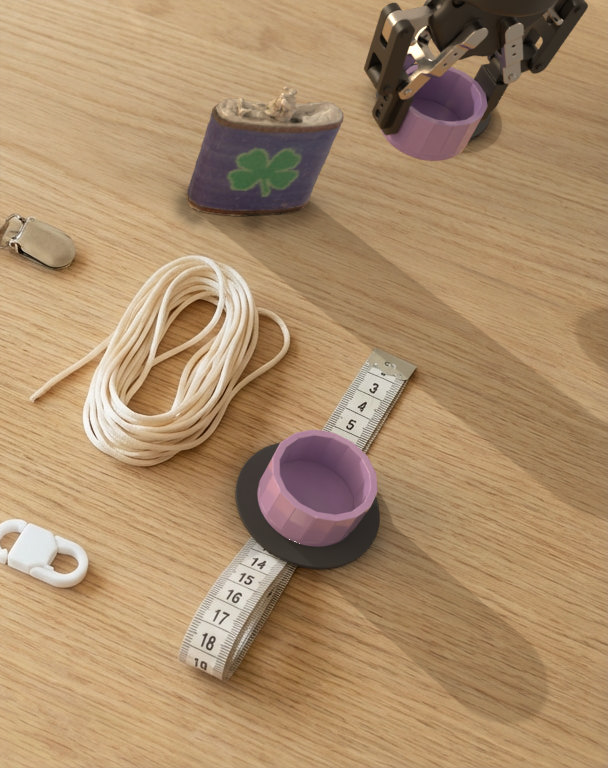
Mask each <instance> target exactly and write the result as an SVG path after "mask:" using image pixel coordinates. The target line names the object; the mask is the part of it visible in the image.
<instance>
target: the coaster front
mask: <svg viewBox="0 0 608 768" xmlns="http://www.w3.org/2000/svg"><path fill="white" fill-rule="evenodd" d="M280 443H281V442H276V443H273V444H269V445H267V446H265V447H263V448H261V449H259V450H258V451H256V452H255V453H254V454H253V455H251V456H250V457H249V458H248V459H247V460H246V461H245V463H244V465H243V466H242V467H241V469H240V471H239V473H238V476H237V479H236V483H235V488H234V489H235V490H234V496H235V505H236V509H237V513H238V516H239V518H240V520H241V522H242V524H243V526H244V528H245V530H247V532H248V534H250V536H251V538H253V540H255V542H256V543H258V545H260V546H261V548H263V549H264V550H265V551H266V552H268V553H269V554H271V555H273V556H274V557H275V558H278V559H279V560H281V561H284V562H286V563H288V564H291V565H293V566H297V567H300V568H304V569H310V570H330V569H331V570H332V569H338V568H340V567H344V566H347V565H349V564H351V563H353V562H355V561H357V560H358V559H360V558H361V557H362V556H364V555H365V553H366V552H368V550H369V548H370V547H371V546H372V545H373V543H374V541H375V539H376V538H377V535H378V531H379V528H380V523H381V522H380V519H381V513H380V506H379V501H378V498H377V495H376V496H375V498H374V501H373V503H372V505H371V507H370V508H369V510H368V511H367V512H366V514H365V515H364V517H363V518H362V519H361V521H360V522H359V523H358V525H357V526H356V528H355V529H354V530H353V531H352V532H351V533H350V534H349V535H348V536H347V537H346V538H345V539H343V540H341V541H340V542H338V543H335V544H332V545H329V546H322V547H313V546H306V545H302V544H299V543H296V542H293V541H291V540H289V539H287V538H286V537H284V536H282V535H281V534H280V533H278V532H277V531H276V530H275V529H274V528H273V527H272V526H271V525H270V524H269V523H268V522H267V520H266V519H265V517H264V515H263V513H262V512H261V509H260V506H259V502H258V495H257V492H258V485H259V482H260V479H261V477H262V475H263V474H264V472H265V470H266V468H267V466H268V464H269V462H270V461H271V459H272V457H273V455H274V453H275V451H276V450H277V448H278V446H279V444H280Z"/></svg>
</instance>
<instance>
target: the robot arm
mask: <svg viewBox="0 0 608 768" xmlns="http://www.w3.org/2000/svg"><path fill="white" fill-rule="evenodd" d="M588 8H589V4H588V3H587V1H586V0H426V1H424V3H423V5H422V6H419V7H413V8H409V9H404V10H403V9H402V8H401V7H400V5H399V4H398V2H390V3H387V5H385V6H384V7H383V8H382V9H381V11H380V13H379V17H378V20H377V24H376V27H375V30H374V32H373V37H372V40H371V43H370V46H369V50H368V53H367V55H366V60H365V62H364V66H363V71H364V73H365V74H366V75H367V77H368V79H369V81H370V82H371V83H372V85H373V87H374V88H375V90H376V92H377V91H378V93H379V97H378V99H377V98H376V101H375V103H374V105H373V108H372V109H371V112H372V113H371V115H372V117H373V119H374V121H375V122H376V124H377V126H378V128H379V129H380V131H381V130H382V131H383V133H384V134H385V135H393V134H397V133H398V131H399V129H400V127H401V125H402V122H403V120H404V118H405V116H406V114H407V112H408V110H409V108H410V106H411V104H412V102H413V100H414V97H413V95H414V94H415V93H416V92H417V91H418V90H419V89H420V88H421V87H422V86H423V85H424V84H425V83H426V82H428V81H429V80H430V79H431V78H432V77H435V78H439V77H441V76H442V75H443V74H444V73H445V72H446V71H447V70H448V69H449V68H450V67H453V66H454V65H455V64H456V63H457V62H458V61H462V60H464V59H467V58H471V57H481V58H482V57H487V61H488V62H489V63H484V64H481V65H480V67H479V69H478V71H477V73H476V75H474V78H473V79H474V80H476V81H477V82H478V83H479V85H480V86H481V88H482V89H483V90H484V92H485V93H486V98H487V109H486V111H485V112H484V114H483V116H482V118H481V120H480V121H484V120H486V118H487V117H488V115H489V113H492V112H493V111H494V110H495V109H496V108H497V106H498V105H499V103H500V101H501V99H502V97H503V96H504V94H505V92H506V90H507V88H508V87H509V85H510V84H513V83H515V82H517V80H519V79H520V77H521V75H522V74H523V73H525V72H528V71H530V73H531V74H534V75H535V74H540V73H541V72H543V71H544V70H545V69H547V68H548V66H549V64H550V63H551V62H552V60H553V59H554V57H555V56H556V54H557V53H558V52H559V50H560V49H561V47H562V46H563V45H564V43H565V41H566V40H567V38H568V37H569V36H570V35H571V33H572V31H573V30H574V28H575V27H576V26H577V24H578V22H579V21H580V20H581V19H582V18H583V16H584V14H585V13H586V11H587V10H588ZM540 38H541V39H542V43H541V45H540V46H539V48H538V46H537V45H536V44H537V43H538V41H539V40H540ZM430 41H432V43H433V44H434V46H435V47H436V49H437V50H438V51H439V54H438V55H437V56H435V55H434V54H433V51H432V50H431V49H430V48H429V47H430V46H429V44H430ZM413 64H418V68H417V69H416V71H415V72H414V73H413V74H411V75H410V76H409V75H408V74H407V72H406V71H407V70H408V69H409V68H410V67H411V66H412V65H413ZM382 131H381V132H382ZM383 133H382V134H383Z"/></svg>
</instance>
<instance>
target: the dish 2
mask: <svg viewBox="0 0 608 768" xmlns="http://www.w3.org/2000/svg"><path fill="white" fill-rule="evenodd" d="M417 68H418V65H414V66H412V67H410V68H409V69H408V70H407V71H406V72H407V74H408V75H409V76H410V75H411V74H413V73H414V72H415V71H416V69H417ZM413 97H414V100H413V102H412V104H411V106H410V108H409V110H408V112H407V114H406V116H405V118H404V120H403V122H402V125H401V127H400V129H399V131H398V133H397V134H393V135H385V134H384V133H383V131H382V130H381V129H380V131H381V133H382V135H383V137H384V138H385V140H386V141H387V142H388V143H389V144H390V145H391V146H392V147H393V148H394V149H396V150H397V151H399V152H401V153H402V154H404V155H406V156H409V157H411V158H414V159H417V160H421V161H425V162H441V161H447V160H451V159H453V158H455V157H457V156H459V155H460V154H461V153H462V152H463V151H464V150H465V148H466V147H467V145H468V144H469V142H470V141H471V140H470V138H471V136H472V134H473V133H474V131H475V129H476V127H477V125H478V124H479V122H480V120H481V118H482V116H483V114H484V112H485V111H486V109H487V98H486V93H485V92H484V90H483V89H482V88H481V86H480V85H479V83H478V82H477V81H476V80H474V78H473V77H472V76H470V75H469V74H468V73H466V72H465V71H463V70H460V69H457V68H455V67H453V66H451V67H450V68H449V69H448V70H447V71H446V72H445V73H444V74H443V75H442V76H441V77H439V78H435V77H432V78H431V79H430V80H429V81H428V82H426V83H425V84H424V85H423V86H422V87H421V88H420V89H419V90H418V91H417V92H416V93H415V94H414V95H413ZM469 140H470V141H469Z"/></svg>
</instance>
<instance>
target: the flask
mask: <svg viewBox="0 0 608 768" xmlns="http://www.w3.org/2000/svg"><path fill="white" fill-rule="evenodd" d="M283 90H285V91H287V92H286V93H285V92H281V93H280V95H279V97H278V98H275V99H273V100H269V101H268V102H266V103H265V102H264V103H263V102H261V101H259V102H253V101H250V100H245V98H244V97H240V98H238V97H237V98H225V99H223V100H222V101H220V102H218V103H216V105H214V106H213V107H212V109H211V113H210V117H209V121H208V122H207V126H206V130H205V134H204V137H203V139H202V142H201V148H200V151H199V152H198V156H197V158H196V161H195V166H194V168H193V171H192V175H191V178H190V182H189V184H188V187H187V191H186V193H185V195H186V202H187V204H188V205H189V207H190V208H191V209H195V211H198V212H202V213H207V214H213V215H214V214H215V215H222V216H231V217H233V216H234V217H241V216H244V217H247V216H248V217H249V216H253V215H254V216H266V215H269V216H271V215H279V214H280V215H281V214H287V215H288V214H291V213H295V212H298V211H301V210H303V209H304V208H305V206H306V205H307V204H308V202H309V201H310V198H311V195H312V193H313V190H314V187H315V185H316V182H317V180H318V178H319V176H320V174H321V172H322V169H323V167H324V165H325V164H326V161H327V159H328V156H329V154H330V151H331V149H332V146H333V144H334V142H335V139H336V137H337V135H338V133H339V131H340V129H341V127H342V124H343V123H344V118H345V117H344V112H343V110H341V108H340V107H339V106H337V105H336V104H335V103H334V102H331V101H317V102H307V103H306V102H305V103H296V102H297V98H296V95H297V94H298V91H297V89H296V88H290V86H284V87H283Z"/></svg>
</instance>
